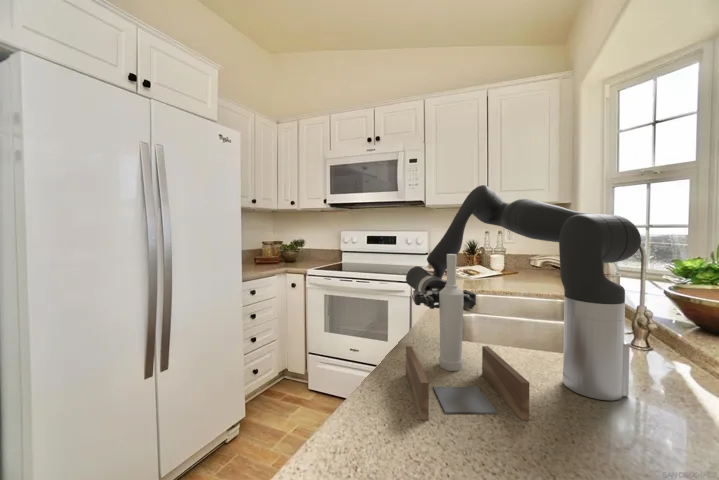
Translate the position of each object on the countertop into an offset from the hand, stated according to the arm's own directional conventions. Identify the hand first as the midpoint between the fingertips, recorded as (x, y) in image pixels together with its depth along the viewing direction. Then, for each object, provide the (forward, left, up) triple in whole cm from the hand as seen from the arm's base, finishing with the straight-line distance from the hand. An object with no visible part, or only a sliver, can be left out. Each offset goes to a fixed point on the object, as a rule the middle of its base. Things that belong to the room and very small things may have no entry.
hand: (452, 304), depth 69 cm
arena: (+2, +12, -14) cm, 18 cm away
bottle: (0, 0, -14) cm, 14 cm away
